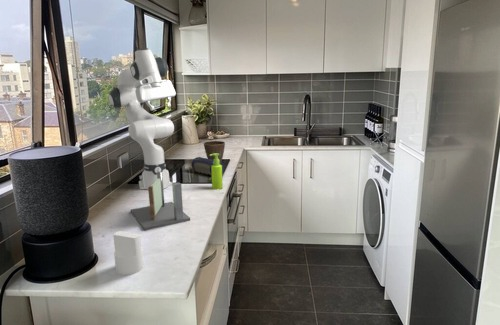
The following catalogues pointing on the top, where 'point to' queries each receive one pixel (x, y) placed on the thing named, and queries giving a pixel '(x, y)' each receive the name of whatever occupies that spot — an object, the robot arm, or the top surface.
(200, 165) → the portable speaker
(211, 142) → the plant pot
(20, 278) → the top surface
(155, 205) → the gate leaf
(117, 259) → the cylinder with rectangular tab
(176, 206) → the gate frame
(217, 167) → the soap dispenser
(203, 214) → the top surface
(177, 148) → the top surface
